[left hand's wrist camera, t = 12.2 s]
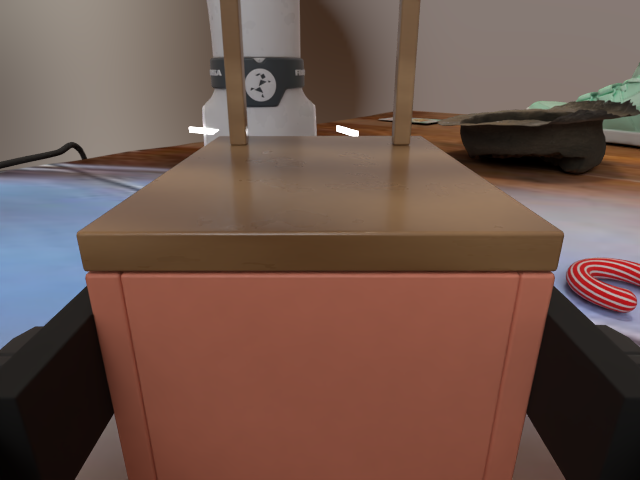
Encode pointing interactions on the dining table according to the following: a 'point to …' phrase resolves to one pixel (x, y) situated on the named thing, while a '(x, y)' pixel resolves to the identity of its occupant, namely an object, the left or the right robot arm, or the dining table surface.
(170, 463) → the chest
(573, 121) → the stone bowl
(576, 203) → the dining table surface
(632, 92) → the sneaker
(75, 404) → the left robot arm
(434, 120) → the baking ingredient package
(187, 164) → the lid
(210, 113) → the right robot arm
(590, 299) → the candy cane
